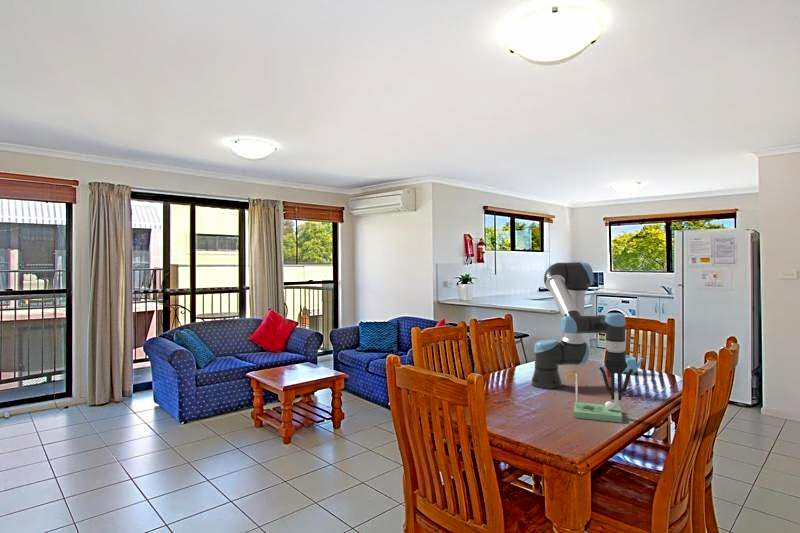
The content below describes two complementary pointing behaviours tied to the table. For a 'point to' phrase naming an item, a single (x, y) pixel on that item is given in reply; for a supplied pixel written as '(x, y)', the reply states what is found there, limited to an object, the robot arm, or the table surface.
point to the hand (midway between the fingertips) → (616, 407)
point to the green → (594, 409)
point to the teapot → (632, 364)
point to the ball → (609, 405)
